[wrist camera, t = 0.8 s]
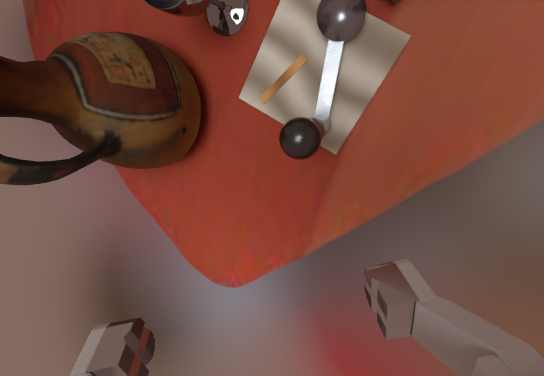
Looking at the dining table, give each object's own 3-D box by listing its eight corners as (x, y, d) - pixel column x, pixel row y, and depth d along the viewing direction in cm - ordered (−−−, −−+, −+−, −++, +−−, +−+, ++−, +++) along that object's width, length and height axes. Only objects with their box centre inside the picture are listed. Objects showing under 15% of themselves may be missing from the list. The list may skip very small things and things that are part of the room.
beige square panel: (292, -25, 37) (291, -27, 37) (410, 36, 36) (411, 35, 35) (240, 97, 45) (238, 97, 44) (336, 154, 43) (335, 155, 42)
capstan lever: (323, -9, 36) (293, -106, 19) (370, -6, 35) (382, -109, 18) (299, 134, 42) (261, 156, 26) (338, 141, 41) (325, 169, 24)
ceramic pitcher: (169, 17, 44) (-138, -122, 17) (234, 126, 46) (56, 162, 19) (100, 86, 52) (-187, 69, 24) (159, 177, 54) (-45, 255, 27)
